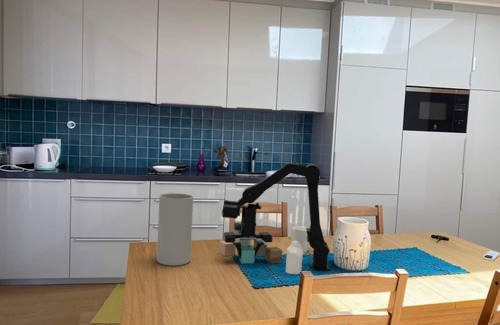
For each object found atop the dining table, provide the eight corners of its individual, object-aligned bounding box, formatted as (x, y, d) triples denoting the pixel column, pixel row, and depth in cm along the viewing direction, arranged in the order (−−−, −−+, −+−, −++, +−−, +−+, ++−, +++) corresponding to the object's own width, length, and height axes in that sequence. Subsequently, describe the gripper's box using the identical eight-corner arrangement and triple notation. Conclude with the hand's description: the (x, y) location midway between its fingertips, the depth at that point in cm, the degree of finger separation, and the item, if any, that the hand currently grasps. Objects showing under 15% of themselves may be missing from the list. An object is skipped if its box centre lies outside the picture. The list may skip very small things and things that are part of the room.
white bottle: (300, 237, 149) (306, 242, 144) (298, 269, 150) (304, 274, 145) (285, 238, 148) (290, 242, 142) (283, 269, 148) (288, 274, 143)
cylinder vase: (183, 268, 144) (186, 200, 142) (151, 264, 146) (153, 197, 145) (194, 258, 156) (197, 195, 154) (165, 254, 159) (167, 192, 157)
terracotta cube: (235, 254, 163) (235, 243, 163) (224, 256, 161) (225, 244, 160) (229, 251, 168) (229, 240, 167) (218, 253, 165) (219, 241, 164)
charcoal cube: (266, 256, 164) (266, 244, 163) (254, 255, 164) (254, 243, 164) (266, 252, 169) (266, 241, 168) (254, 252, 169) (255, 240, 169)
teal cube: (254, 263, 154) (254, 250, 154) (241, 263, 153) (242, 250, 152) (251, 259, 159) (251, 246, 158) (238, 259, 158) (239, 247, 157)
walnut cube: (281, 262, 157) (282, 250, 157) (270, 263, 155) (271, 250, 155) (275, 258, 162) (276, 246, 161) (264, 259, 160) (265, 247, 159)
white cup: (309, 253, 171) (311, 230, 170) (291, 252, 171) (292, 229, 170) (307, 248, 178) (309, 226, 178) (290, 247, 179) (291, 225, 178)
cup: (252, 244, 180) (253, 222, 180) (250, 249, 173) (251, 226, 172) (235, 242, 181) (236, 221, 180) (232, 247, 173) (233, 225, 173)
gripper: (266, 215, 165) (264, 252, 166) (221, 214, 160) (219, 252, 161) (273, 221, 154) (271, 260, 155) (226, 221, 149) (224, 261, 151)
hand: (246, 258), depth 156 cm, fingers closed on teal cube, 5 cm apart
